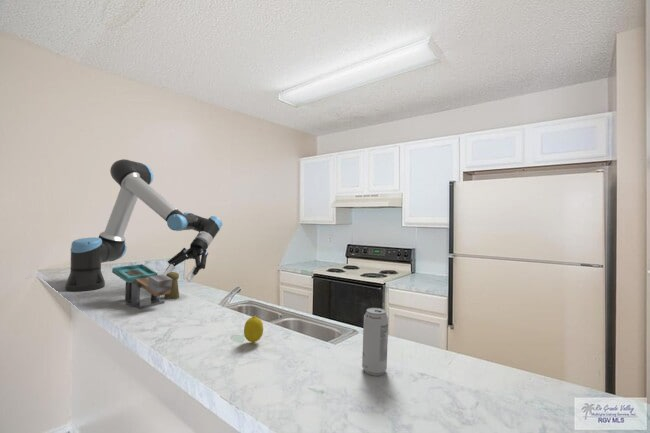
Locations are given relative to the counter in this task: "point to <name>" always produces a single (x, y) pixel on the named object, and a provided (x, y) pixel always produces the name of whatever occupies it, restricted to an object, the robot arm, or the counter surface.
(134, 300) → the beam stand
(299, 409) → the counter surface
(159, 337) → the counter surface
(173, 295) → the olive chess piece
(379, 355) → the energy drink can
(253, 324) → the lemon
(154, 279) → the balance beam
